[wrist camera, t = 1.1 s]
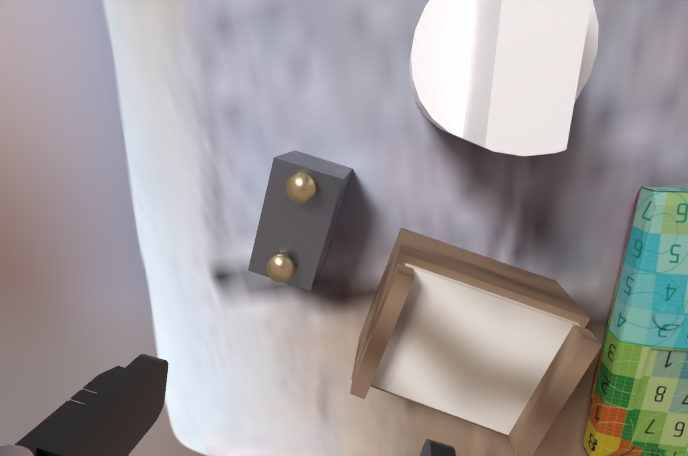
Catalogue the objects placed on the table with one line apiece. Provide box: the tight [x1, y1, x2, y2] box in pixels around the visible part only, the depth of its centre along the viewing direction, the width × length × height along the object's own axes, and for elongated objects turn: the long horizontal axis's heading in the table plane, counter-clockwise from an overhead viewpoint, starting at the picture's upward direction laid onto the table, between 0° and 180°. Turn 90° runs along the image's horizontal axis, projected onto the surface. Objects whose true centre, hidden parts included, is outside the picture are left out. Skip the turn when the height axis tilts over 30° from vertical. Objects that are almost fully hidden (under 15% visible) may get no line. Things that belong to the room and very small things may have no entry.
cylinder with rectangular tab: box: [409, 0, 599, 156], centre depth 19 cm, size 9×9×12 cm
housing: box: [248, 151, 353, 291], centre depth 27 cm, size 8×4×6 cm, turn 163°
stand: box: [350, 228, 602, 456], centre depth 27 cm, size 10×12×8 cm
